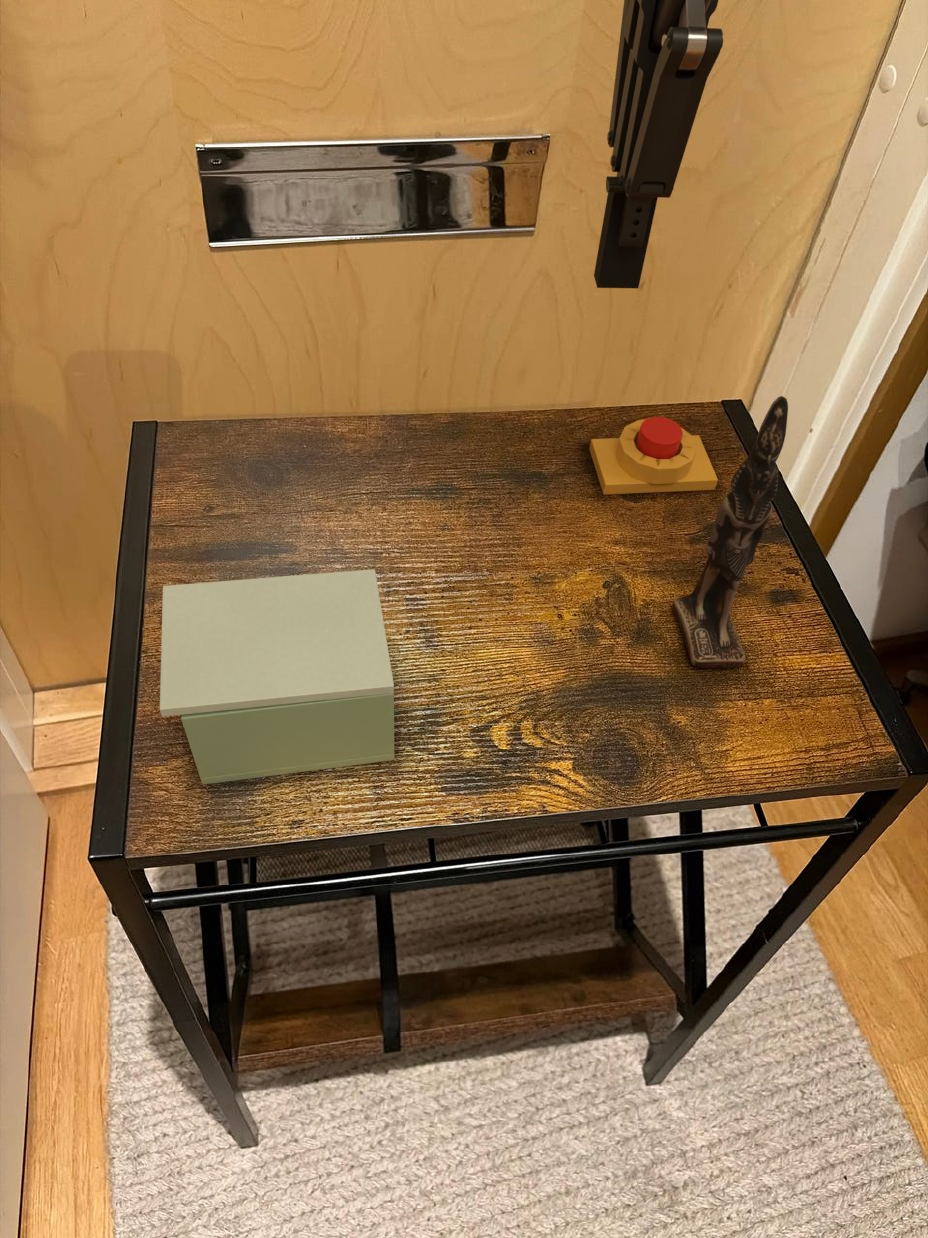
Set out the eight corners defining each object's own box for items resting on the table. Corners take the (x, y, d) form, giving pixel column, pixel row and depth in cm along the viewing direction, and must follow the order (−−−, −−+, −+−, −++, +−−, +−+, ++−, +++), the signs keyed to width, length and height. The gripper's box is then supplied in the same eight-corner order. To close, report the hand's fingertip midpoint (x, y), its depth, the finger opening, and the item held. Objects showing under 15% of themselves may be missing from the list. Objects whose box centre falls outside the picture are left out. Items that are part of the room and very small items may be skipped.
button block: (695, 443, 86) (703, 416, 84) (715, 492, 82) (724, 465, 80) (588, 447, 85) (593, 420, 83) (603, 497, 81) (609, 470, 78)
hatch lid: (161, 717, 55) (159, 709, 54) (164, 593, 61) (162, 585, 60) (393, 693, 57) (394, 685, 57) (375, 576, 63) (375, 568, 62)
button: (672, 431, 83) (676, 415, 81) (682, 458, 80) (687, 443, 79) (632, 433, 82) (636, 417, 81) (642, 460, 80) (646, 444, 79)
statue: (689, 675, 69) (773, 468, 54) (665, 602, 74) (736, 391, 58) (744, 672, 70) (842, 466, 54) (717, 599, 74) (801, 390, 59)
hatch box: (202, 785, 61) (180, 719, 55) (201, 667, 67) (181, 596, 61) (394, 760, 63) (394, 693, 57) (377, 648, 69) (375, 577, 63)
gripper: (603, -222, 47) (547, 229, 65) (652, -157, 39) (572, 339, 57) (750, -214, 48) (653, 231, 66) (828, -148, 39) (693, 340, 57)
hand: (616, 281), depth 61 cm, fingers closed
